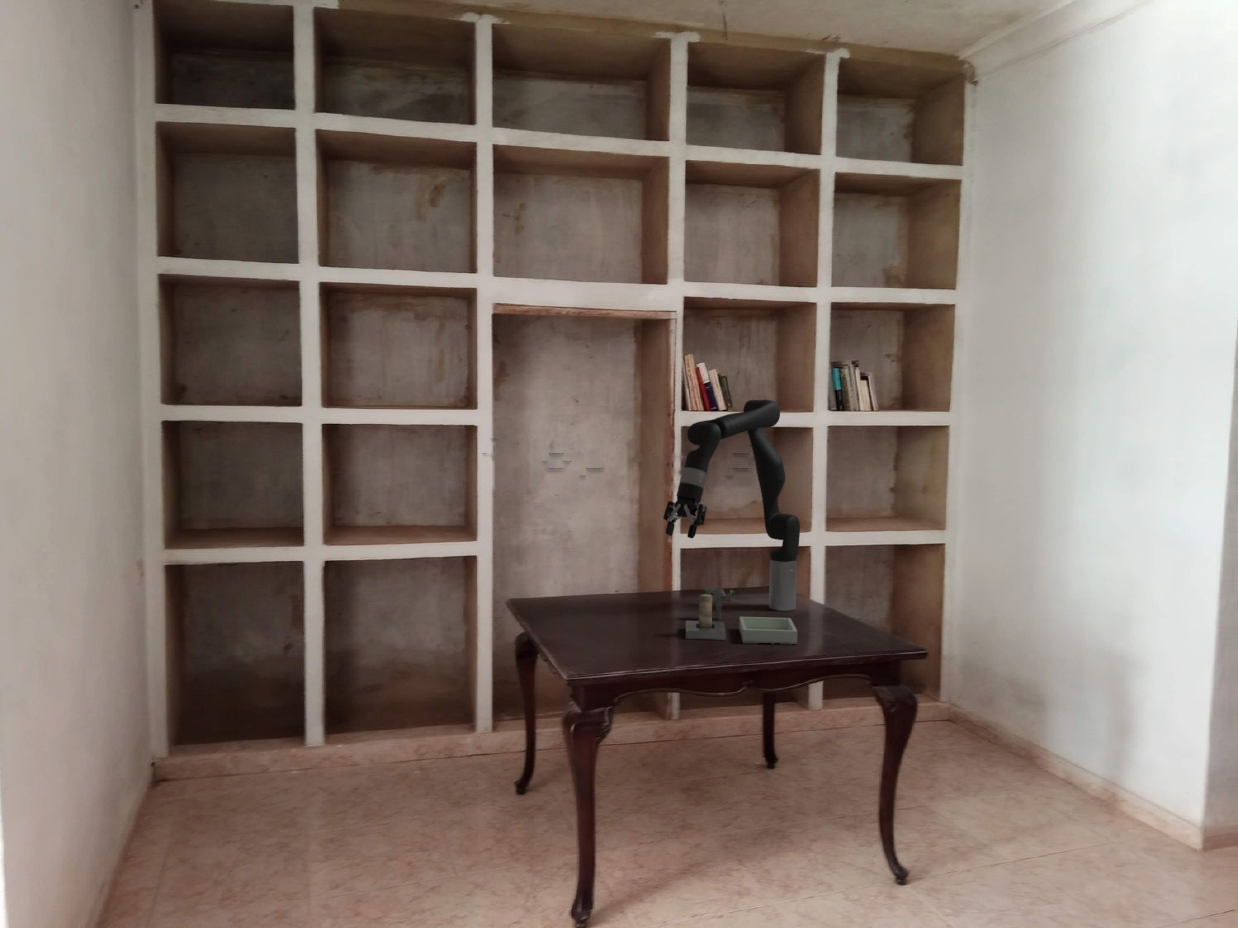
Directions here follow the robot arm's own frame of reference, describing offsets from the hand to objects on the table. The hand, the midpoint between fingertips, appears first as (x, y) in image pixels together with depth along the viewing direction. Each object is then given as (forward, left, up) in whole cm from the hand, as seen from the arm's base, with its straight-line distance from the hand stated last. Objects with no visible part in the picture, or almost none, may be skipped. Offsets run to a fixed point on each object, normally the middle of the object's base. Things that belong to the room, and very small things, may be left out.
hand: (679, 536), depth 256 cm
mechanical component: (-25, +13, -32) cm, 43 cm away
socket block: (-6, +8, -31) cm, 33 cm away
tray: (-5, +27, -31) cm, 42 cm away
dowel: (-6, +8, -31) cm, 33 cm away
